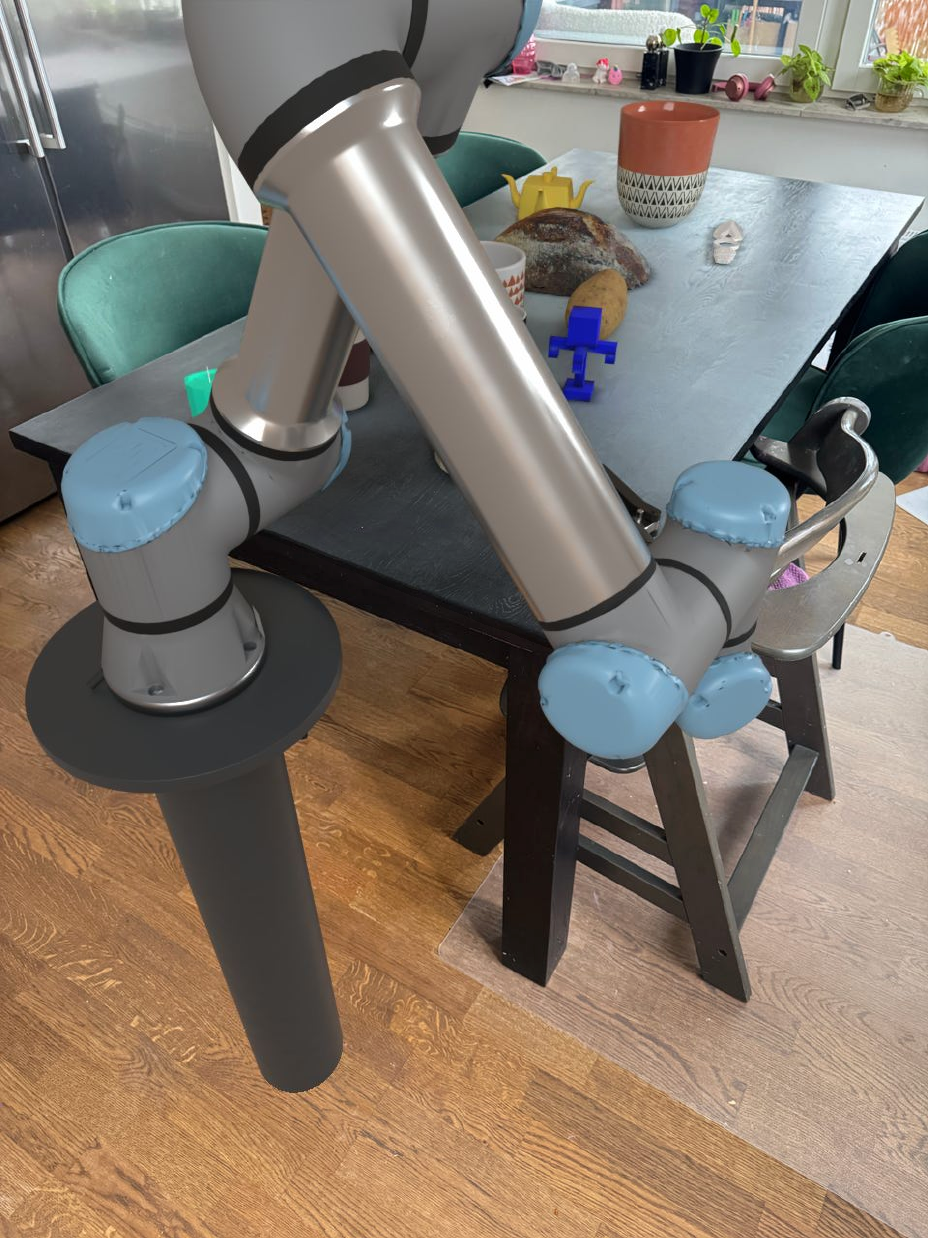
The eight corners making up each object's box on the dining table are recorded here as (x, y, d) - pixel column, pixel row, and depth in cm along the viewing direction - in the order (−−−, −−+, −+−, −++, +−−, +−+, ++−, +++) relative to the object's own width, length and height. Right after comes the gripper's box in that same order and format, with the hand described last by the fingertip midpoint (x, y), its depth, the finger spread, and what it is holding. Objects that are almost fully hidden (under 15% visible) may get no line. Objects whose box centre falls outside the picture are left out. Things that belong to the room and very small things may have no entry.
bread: (507, 237, 177) (508, 184, 171) (663, 257, 168) (671, 202, 162) (458, 281, 158) (458, 224, 152) (632, 306, 149) (639, 246, 143)
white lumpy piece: (706, 262, 166) (706, 258, 165) (717, 220, 186) (717, 216, 185) (737, 265, 164) (738, 261, 164) (745, 222, 185) (746, 218, 184)
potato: (549, 349, 136) (553, 290, 130) (586, 315, 146) (592, 259, 140) (600, 360, 133) (607, 300, 127) (635, 325, 143) (642, 268, 137)
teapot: (592, 224, 184) (596, 175, 177) (539, 236, 178) (541, 185, 172) (551, 207, 193) (554, 160, 187) (499, 218, 187) (500, 169, 181)
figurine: (614, 398, 123) (625, 315, 116) (572, 410, 121) (580, 327, 113) (583, 377, 128) (591, 297, 120) (541, 389, 125) (547, 308, 117)
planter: (602, 234, 179) (614, 117, 165) (615, 207, 193) (627, 98, 179) (697, 242, 175) (718, 123, 161) (703, 215, 189) (722, 103, 175)
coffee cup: (350, 424, 117) (340, 316, 108) (294, 407, 121) (279, 301, 111) (391, 395, 124) (385, 291, 114) (336, 379, 128) (325, 277, 118)
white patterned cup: (429, 322, 144) (427, 243, 135) (508, 315, 146) (510, 236, 138) (449, 356, 134) (448, 273, 125) (532, 347, 136) (537, 265, 128)
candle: (196, 466, 109) (175, 377, 101) (206, 442, 114) (187, 355, 106) (243, 466, 109) (226, 377, 101) (252, 442, 114) (236, 355, 106)
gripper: (537, 636, 72) (448, 491, 88) (707, 596, 76) (591, 464, 93) (543, 565, 67) (448, 425, 83) (724, 527, 71) (599, 400, 88)
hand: (524, 446), depth 88 cm, fingers closed on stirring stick, 3 cm apart
